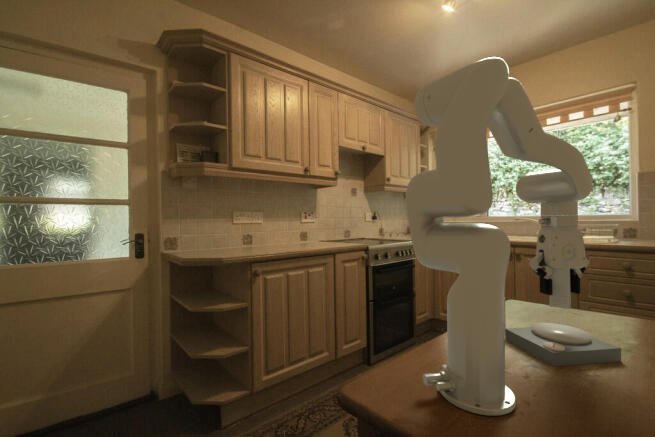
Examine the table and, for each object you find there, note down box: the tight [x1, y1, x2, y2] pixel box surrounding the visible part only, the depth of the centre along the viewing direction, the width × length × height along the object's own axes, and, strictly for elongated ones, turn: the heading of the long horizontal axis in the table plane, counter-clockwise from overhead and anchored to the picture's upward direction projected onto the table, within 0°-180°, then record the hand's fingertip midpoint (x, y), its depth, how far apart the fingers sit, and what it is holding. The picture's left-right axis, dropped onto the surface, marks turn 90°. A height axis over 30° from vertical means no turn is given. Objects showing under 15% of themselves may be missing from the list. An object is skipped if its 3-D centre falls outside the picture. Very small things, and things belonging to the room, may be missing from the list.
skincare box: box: [548, 260, 572, 310], centre depth 77 cm, size 6×4×12 cm
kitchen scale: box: [505, 322, 622, 368], centre depth 75 cm, size 17×15×4 cm
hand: (559, 292), depth 77 cm, fingers closed on skincare box, 7 cm apart
